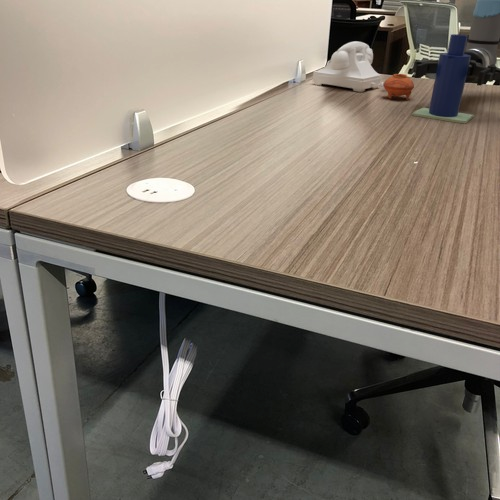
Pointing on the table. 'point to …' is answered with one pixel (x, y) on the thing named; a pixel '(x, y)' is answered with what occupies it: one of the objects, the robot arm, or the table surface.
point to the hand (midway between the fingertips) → (447, 75)
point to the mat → (459, 118)
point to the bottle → (450, 78)
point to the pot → (398, 85)
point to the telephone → (350, 68)
